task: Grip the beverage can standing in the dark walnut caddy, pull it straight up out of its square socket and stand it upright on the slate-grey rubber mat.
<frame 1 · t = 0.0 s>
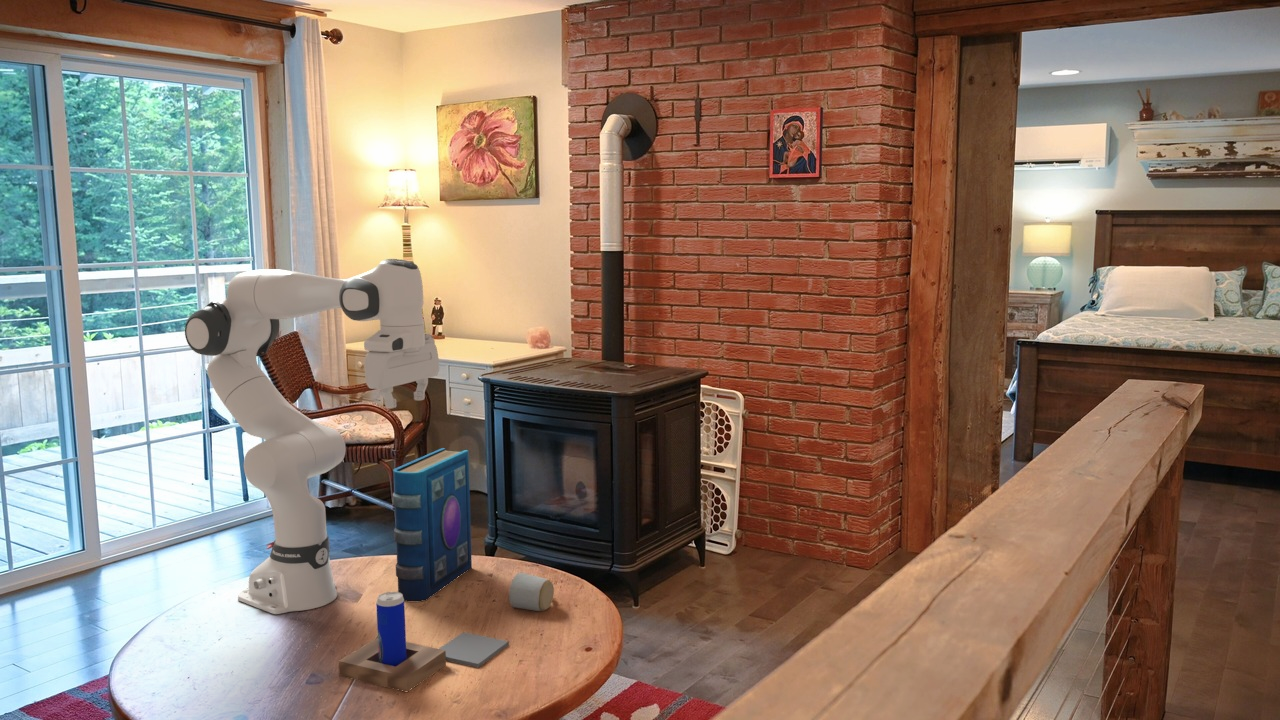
hand: (405, 403, 200), 48 cm above the table, tool pointing down, fingers open, 8 cm apart
walnut caddy: (393, 670, 185), on the table
book: (436, 584, 228), on the table
rubber mat: (470, 651, 193), on the table
ceramic mug: (533, 606, 215), on the table
beverage can: (393, 671, 185), resting in walnut caddy
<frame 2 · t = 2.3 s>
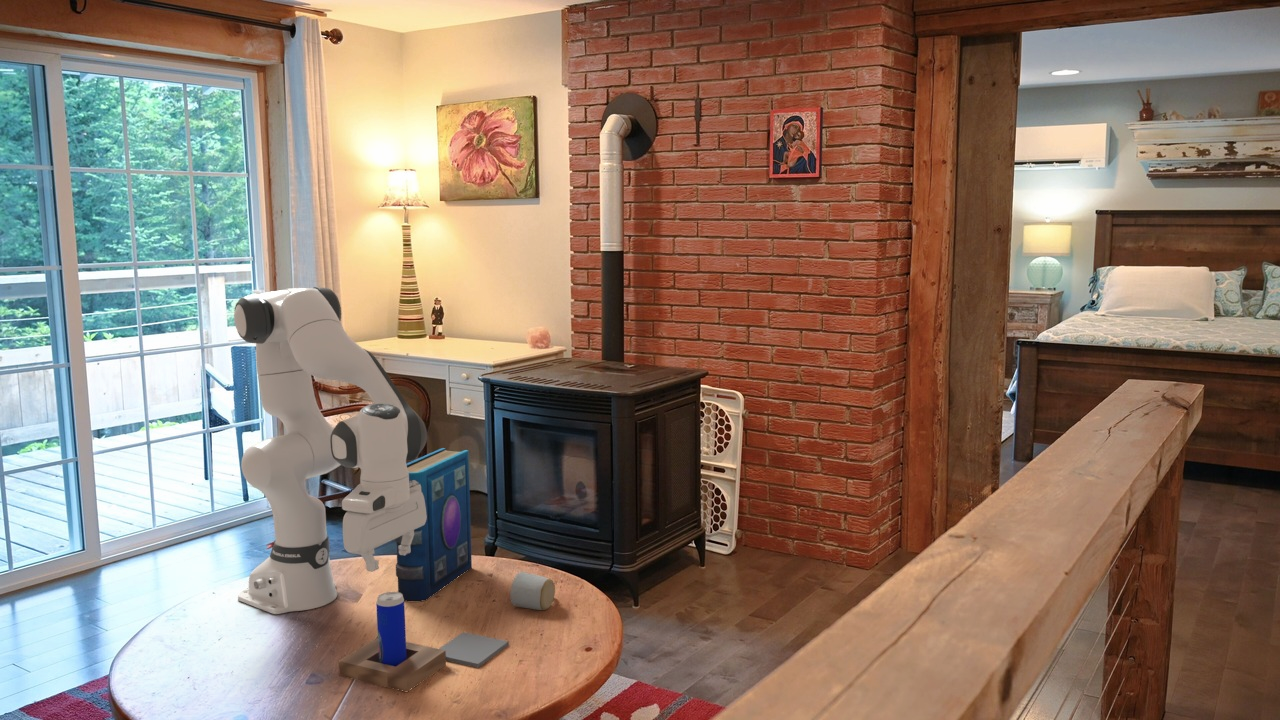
hand: (389, 562, 181), 22 cm above the table, tool pointing down, fingers open, 8 cm apart
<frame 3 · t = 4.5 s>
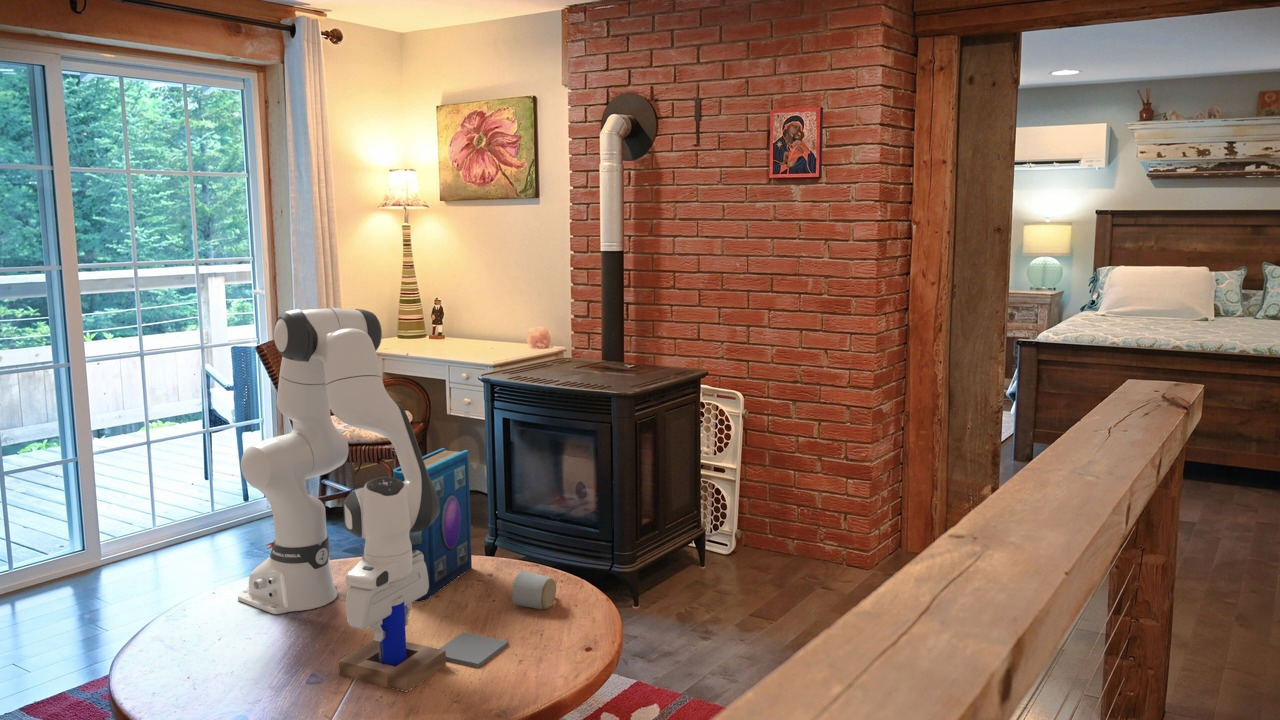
hand: (391, 632, 184), 8 cm above the table, tool pointing down, fingers closed on beverage can, 5 cm apart
beverage can: (393, 671, 185), resting in walnut caddy, touching gripper
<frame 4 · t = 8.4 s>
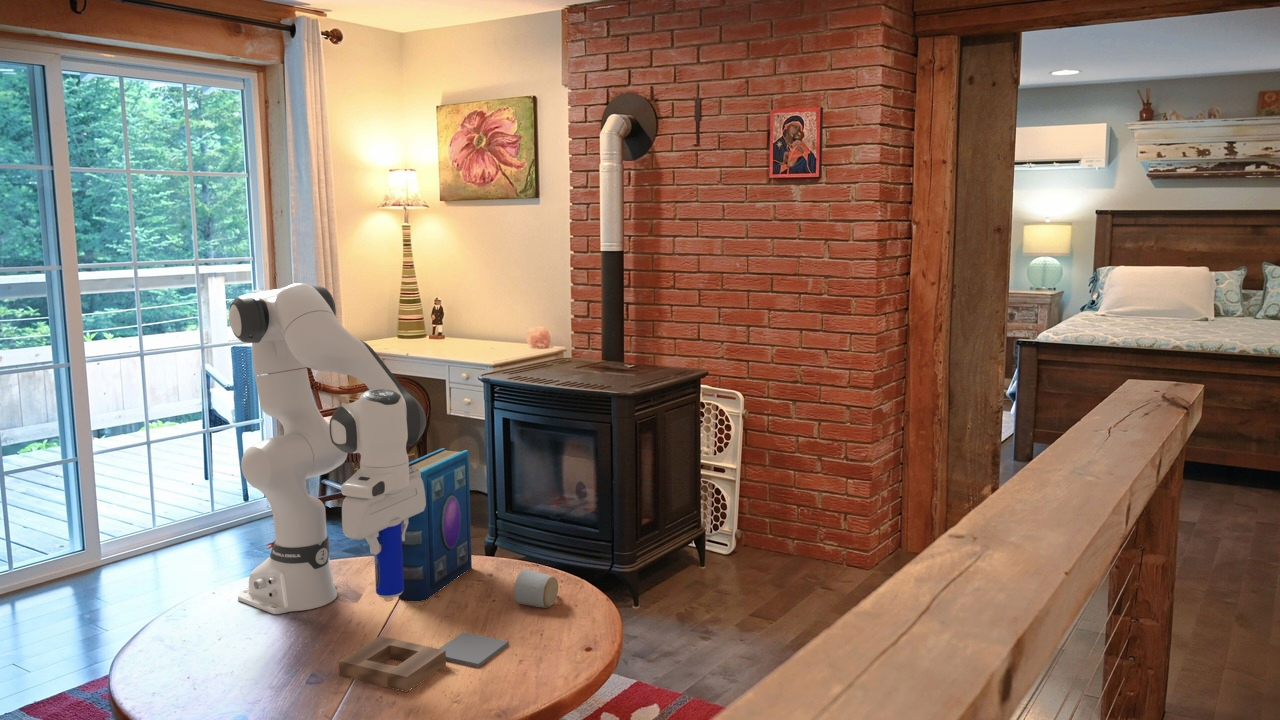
hand: (387, 547, 181), 25 cm above the table, tool pointing down, fingers closed on beverage can, 5 cm apart
beverage can: (390, 594, 182), point 15 cm above the table, touching gripper
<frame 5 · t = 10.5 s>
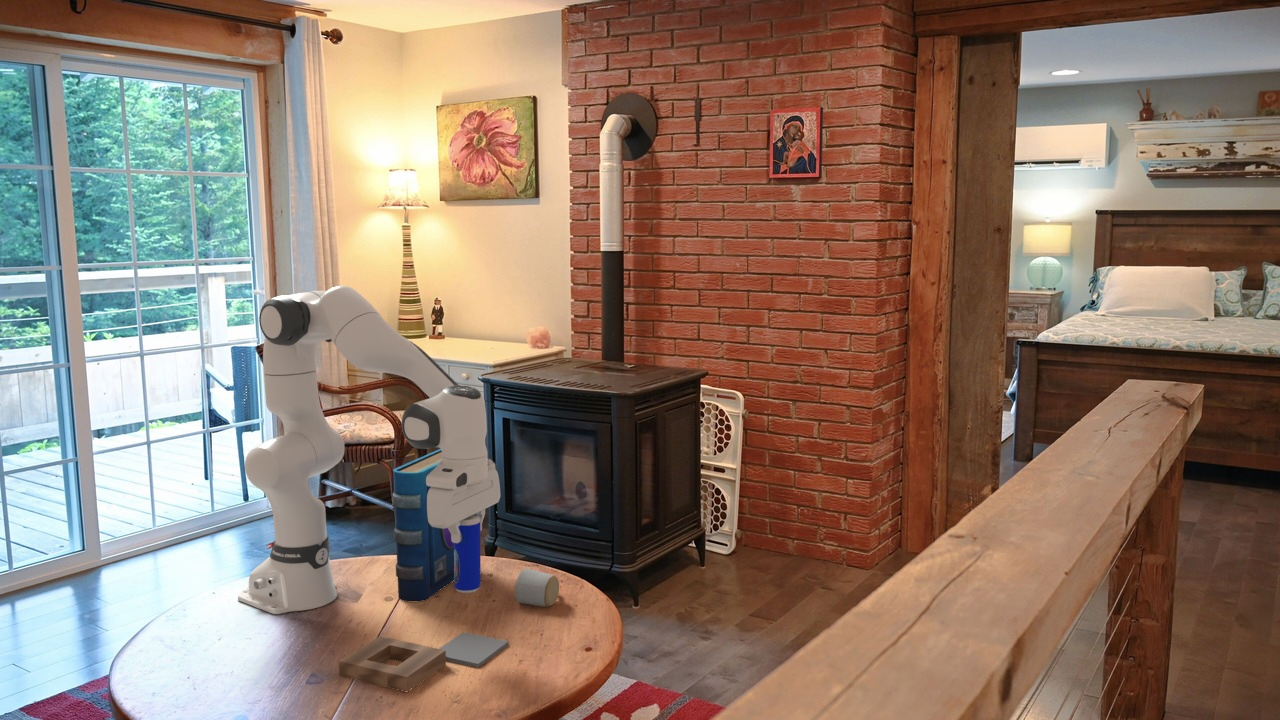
hand: (466, 536, 189), 24 cm above the table, tool pointing down, fingers closed on beverage can, 5 cm apart
beverage can: (467, 589, 191), point 13 cm above the table, touching gripper
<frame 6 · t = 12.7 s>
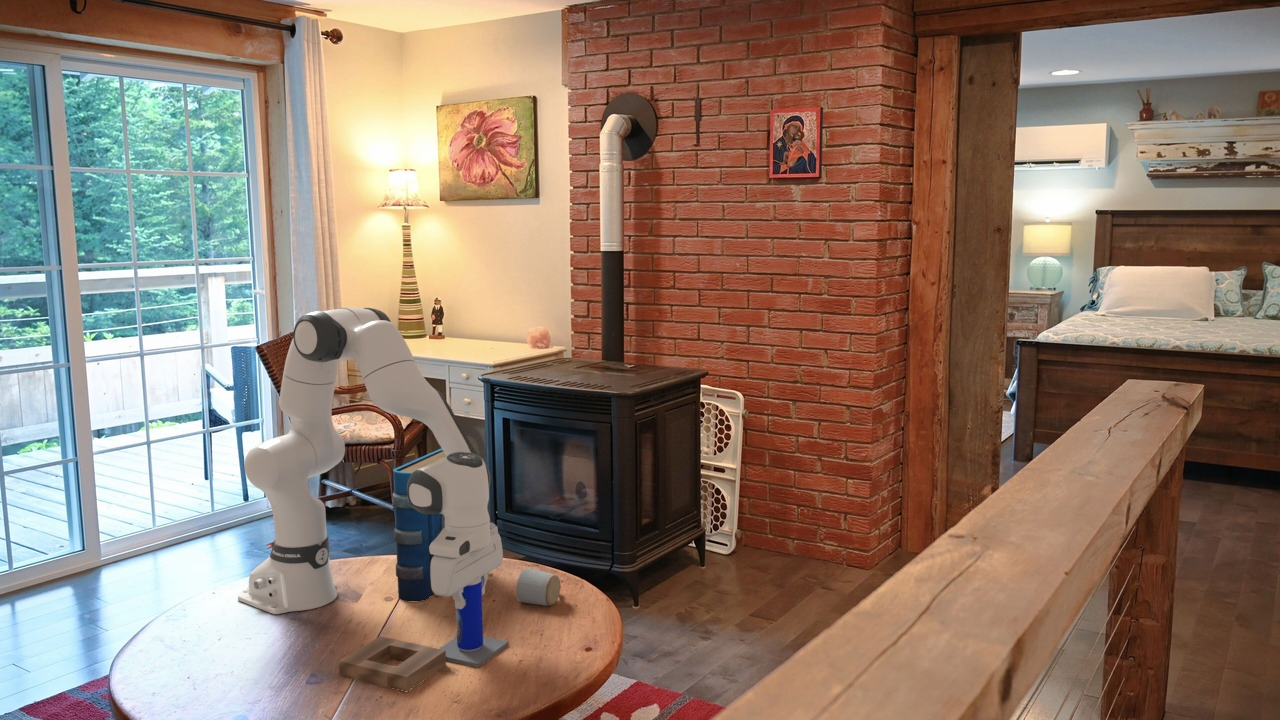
hand: (470, 601, 191), 10 cm above the table, tool pointing down, fingers closed on beverage can, 5 cm apart
beverage can: (470, 648, 193), point 1 cm above the table, touching gripper, rubber mat
when the fingers open (10 cm above the table, at t = 13.9 s): beverage can stays where it is, resting on rubber mat.
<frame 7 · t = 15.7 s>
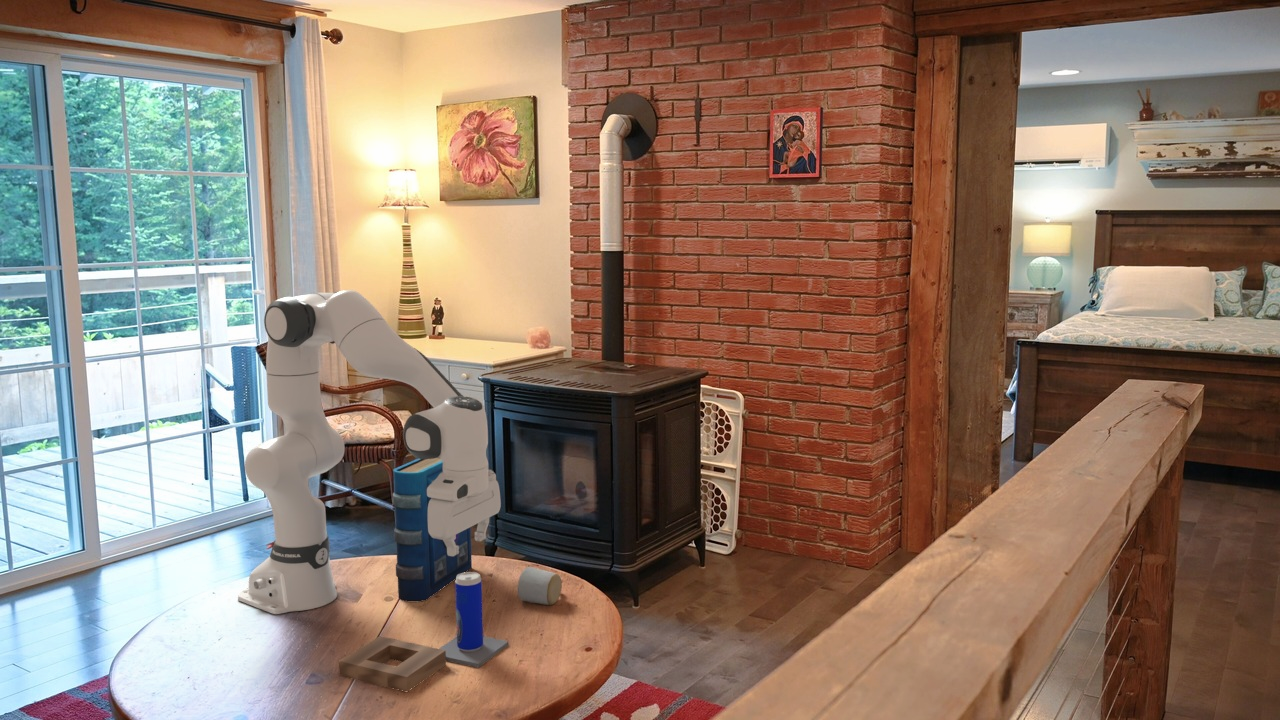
hand: (466, 547, 190), 22 cm above the table, tool pointing down, fingers open, 8 cm apart
beverage can: (470, 648, 193), point 1 cm above the table, touching rubber mat
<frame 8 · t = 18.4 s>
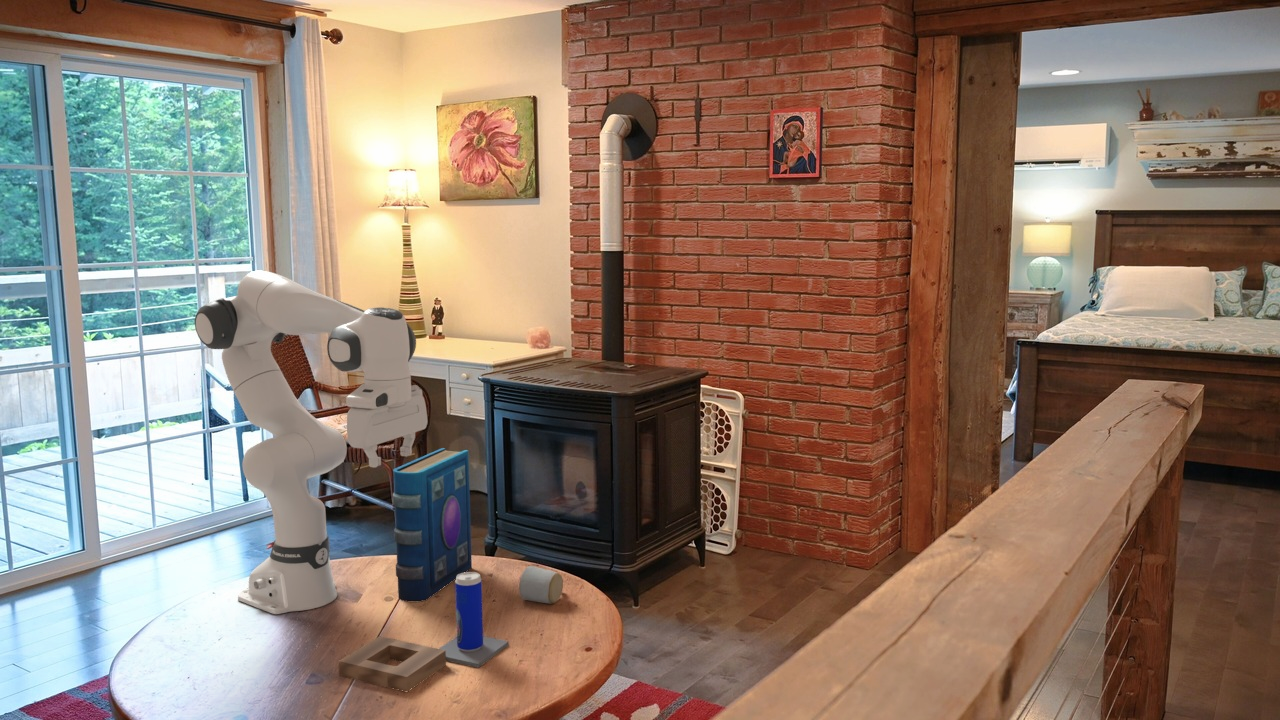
hand: (391, 460, 188), 39 cm above the table, tool pointing down, fingers open, 8 cm apart
at the end: beverage can inside the target area on the rubber mat (0.1 cm from its centre), point 0.6 cm above the rubber mat's base; beverage can tilted 0°; the gripper is holding nothing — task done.
